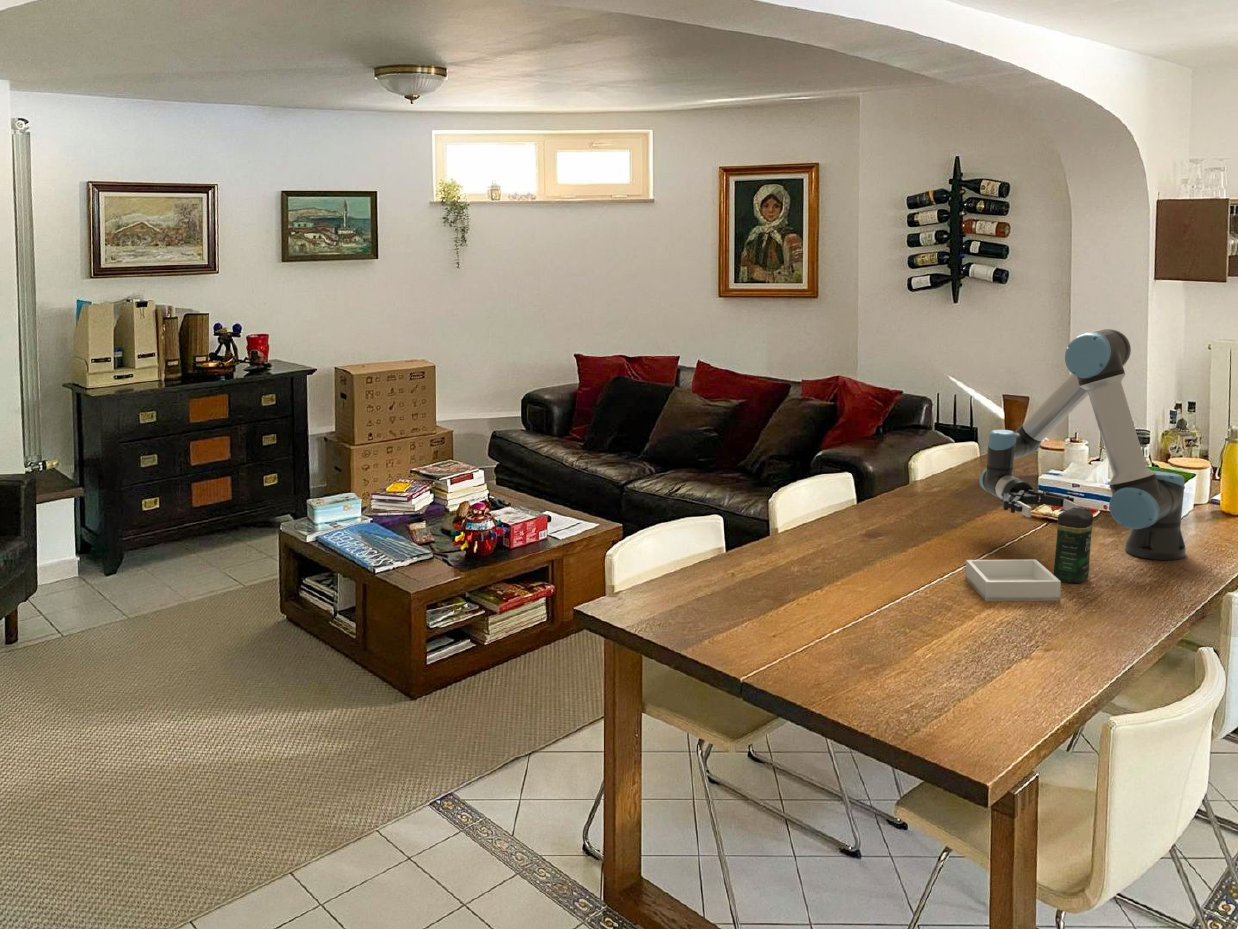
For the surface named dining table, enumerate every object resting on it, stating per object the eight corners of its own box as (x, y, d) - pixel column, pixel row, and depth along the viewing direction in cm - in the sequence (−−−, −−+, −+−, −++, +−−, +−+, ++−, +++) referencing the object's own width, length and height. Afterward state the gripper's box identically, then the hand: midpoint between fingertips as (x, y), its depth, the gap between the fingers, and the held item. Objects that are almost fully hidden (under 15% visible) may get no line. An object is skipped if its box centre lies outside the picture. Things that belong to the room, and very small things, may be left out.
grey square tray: (1034, 577, 281) (1035, 559, 280) (1059, 600, 263) (1060, 581, 262) (965, 578, 282) (966, 560, 281) (985, 601, 264) (986, 582, 263)
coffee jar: (1080, 586, 273) (1086, 516, 269) (1049, 580, 278) (1053, 511, 274) (1092, 576, 280) (1097, 508, 277) (1061, 571, 285) (1066, 503, 282)
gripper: (1054, 502, 309) (1096, 522, 288) (972, 506, 306) (1008, 526, 285) (1056, 477, 307) (1098, 495, 286) (974, 480, 304) (1010, 499, 283)
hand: (1053, 511), depth 286 cm, fingers open, 13 cm apart
